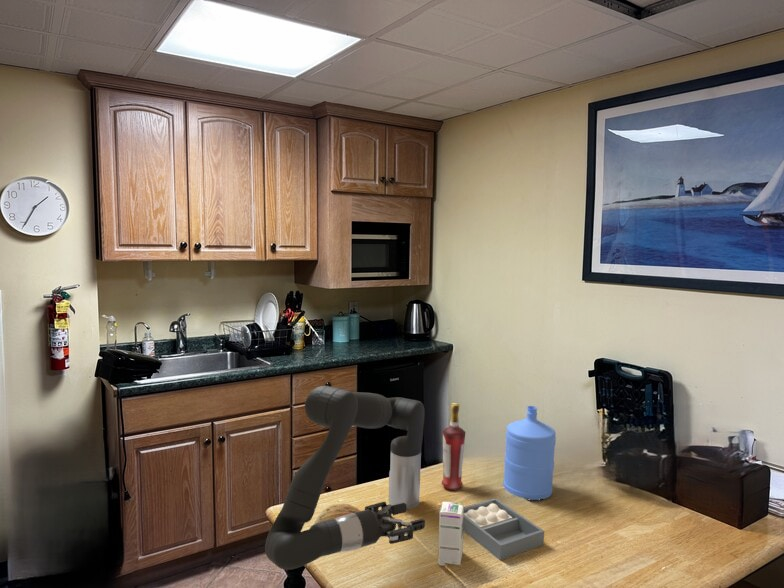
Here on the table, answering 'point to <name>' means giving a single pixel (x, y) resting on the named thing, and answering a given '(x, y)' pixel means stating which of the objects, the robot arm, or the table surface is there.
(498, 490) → the table surface
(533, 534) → the tray
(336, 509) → the bread roll
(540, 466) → the water jug
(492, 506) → the egg carton
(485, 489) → the table surface
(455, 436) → the liquor
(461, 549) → the syrup box
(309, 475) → the robot arm
